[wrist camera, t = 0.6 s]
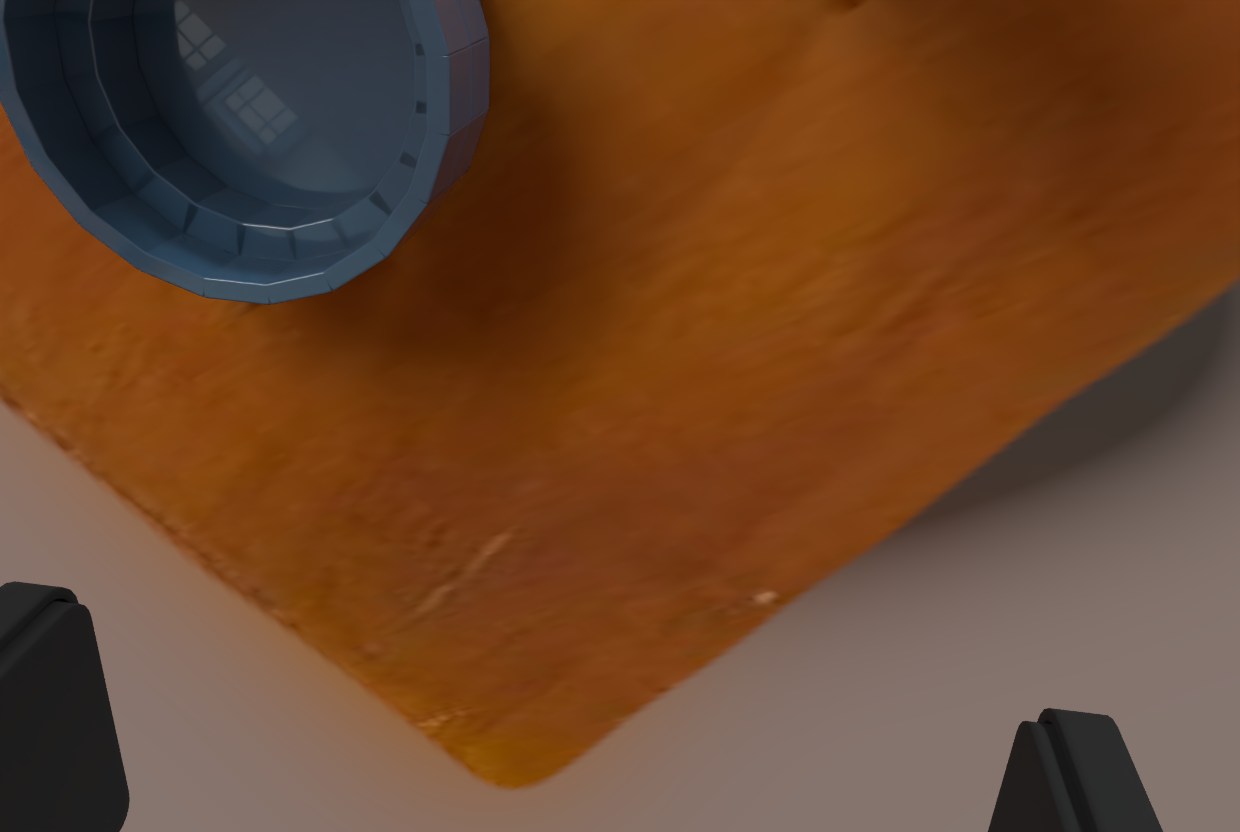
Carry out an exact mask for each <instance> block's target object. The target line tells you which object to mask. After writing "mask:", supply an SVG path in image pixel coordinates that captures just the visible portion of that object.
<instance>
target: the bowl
mask: <svg viewBox="0 0 1240 832" xmlns="http://www.w3.org/2000/svg"><path fill="white" fill-rule="evenodd" d="M488 37H489V32H488V29H487V25H486V22H485V18H484V15H483V11H482V8H481V4H480V0H0V101H1V104H2V106H3V108H4V110H5V112H6V114H7V116H8V118H9V120H10V123H11V125H12V127H13V129H14V131H15V133H16V135H17V137H18V139H19V142H20V144H21V146H22V148H23V150H24V152H25V154H26V156H27V158H28V161H29V162H30V163H31V166H32V168H33V169H34V170H35V171H36V172H37V174H38V175H39V176H40V177H41V179H42V180H43V181H44V182H45V184H46V185H47V186H48V187H49V188H50V190H51V191H52V192H53V193H54V195H55V196H56V197H57V198H58V200H59V201H60V202H61V203H62V205H63V206H64V207H65V208H66V209H67V211H68V212H69V213H70V214H71V216H72V217H73V218H74V219H75V221H76V222H77V223H78V224H80V226H81V227H82V228H84V229H85V230H86V231H88V232H89V233H90V234H92V235H93V236H94V237H96V238H97V239H98V240H100V241H101V242H102V243H104V244H105V245H106V246H107V247H109V248H110V249H111V250H113V251H114V252H115V253H117V254H118V255H119V256H121V257H122V258H123V259H125V260H126V261H127V262H129V263H130V264H131V265H132V266H134V267H135V268H136V269H138V270H139V269H140V271H142V272H144V273H147V274H149V275H152V276H154V277H156V278H159V279H161V280H164V281H166V282H168V283H171V284H173V285H176V286H178V287H180V288H183V289H185V290H187V291H190V292H192V293H195V294H197V295H199V296H202V297H205V298H213V299H222V300H231V301H240V302H249V303H258V304H267V305H270V304H278V303H282V302H287V301H292V300H297V299H301V298H306V297H311V296H315V295H320V294H325V293H330V292H332V291H334V290H337V289H339V288H340V287H342V286H344V285H345V284H347V283H348V282H350V281H351V280H353V279H355V278H356V277H358V276H359V275H361V274H363V273H364V272H366V271H367V270H369V269H371V268H372V267H374V266H375V265H377V264H379V263H380V262H382V261H383V260H385V259H386V258H387V257H389V256H390V255H391V254H392V253H393V252H394V251H395V250H396V249H398V248H399V247H400V246H401V245H402V244H403V243H404V242H405V241H406V240H407V239H409V238H410V237H411V236H412V235H413V234H414V233H415V232H416V231H417V230H418V229H420V228H421V227H422V226H423V225H424V224H425V223H426V222H427V221H428V220H429V219H431V218H432V217H433V216H434V214H435V213H436V212H437V210H438V209H439V208H440V207H441V205H442V204H443V203H444V201H445V200H446V199H447V197H448V196H449V195H450V194H451V192H452V191H453V190H454V188H455V187H456V186H457V184H458V183H459V182H460V181H461V179H462V178H463V177H464V175H465V174H466V173H467V171H468V169H469V168H470V165H471V162H472V159H473V156H474V153H475V150H476V147H477V144H478V140H479V137H480V134H481V131H482V128H483V125H484V122H485V119H486V116H487V113H488V110H489V108H488V107H489V82H490V39H489V38H488Z"/></svg>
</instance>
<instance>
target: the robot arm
mask: <svg viewBox="0 0 1240 832" xmlns="http://www.w3.org/2000/svg"><path fill="white" fill-rule="evenodd" d="M128 808H129V790H128V786H127V781H126V776H125V772H124V767H123V763H122V758H121V753H120V748H119V744H118V739H117V735H116V730H115V725H114V721H113V716H112V711H111V706H110V702H109V698H108V692H107V688H106V683H105V678H104V674H103V669H102V664H101V660H100V655H99V650H98V646H97V641H96V636H95V632H94V627H93V622H92V618H91V615H90V612H89V610H88V609H87V607H86V606H84V605H81V604H79V603H78V600H77V598H76V596H75V594H74V593H73V592H72V591H71V590H69V589H66V588H63V587H55V586H47V585H39V584H30V583H22V582H11V583H6V584H4V585H3V586H1V587H0V832H119V831H120V830H121V828H122V826H123V824H124V821H125V819H126V816H127V812H128ZM988 832H1163V831H1162V828H1161V826H1160V824H1159V821H1158V819H1157V817H1156V815H1155V812H1154V810H1153V808H1152V805H1151V803H1150V801H1149V798H1148V796H1147V794H1146V791H1145V789H1144V787H1143V784H1142V782H1141V780H1140V778H1139V775H1138V773H1137V771H1136V768H1135V766H1134V764H1133V761H1132V759H1131V757H1130V754H1129V752H1128V750H1127V748H1126V745H1125V743H1124V741H1123V739H1122V736H1121V734H1120V731H1119V729H1118V727H1117V725H1116V724H1115V722H1114V720H1113V719H1112V718H1111V717H1109V716H1108V715H1100V714H1092V713H1083V712H1076V711H1068V710H1060V709H1051V708H1048V709H1044V710H1043V712H1042V713H1041V714H1040V716H1039V719H1038V721H1037V722H1029V721H1023V722H1022V723H1021V724H1020V725H1019V727H1018V730H1017V733H1016V736H1015V739H1014V743H1013V747H1012V750H1011V753H1010V757H1009V760H1008V764H1007V767H1006V771H1005V774H1004V778H1003V781H1002V785H1001V788H1000V792H999V795H998V799H997V802H996V805H995V809H994V813H993V816H992V820H991V823H990V826H989V830H988Z"/></svg>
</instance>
